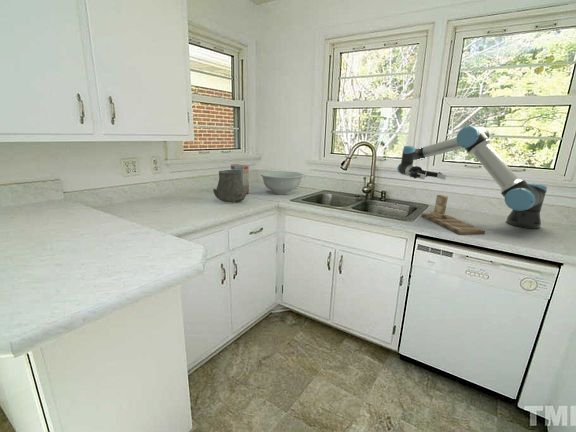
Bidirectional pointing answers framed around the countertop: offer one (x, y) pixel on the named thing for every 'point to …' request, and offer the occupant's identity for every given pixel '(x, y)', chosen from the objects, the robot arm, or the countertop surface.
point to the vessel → (230, 186)
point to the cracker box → (243, 175)
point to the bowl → (281, 181)
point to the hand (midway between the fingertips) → (434, 177)
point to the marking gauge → (440, 207)
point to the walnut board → (454, 224)
